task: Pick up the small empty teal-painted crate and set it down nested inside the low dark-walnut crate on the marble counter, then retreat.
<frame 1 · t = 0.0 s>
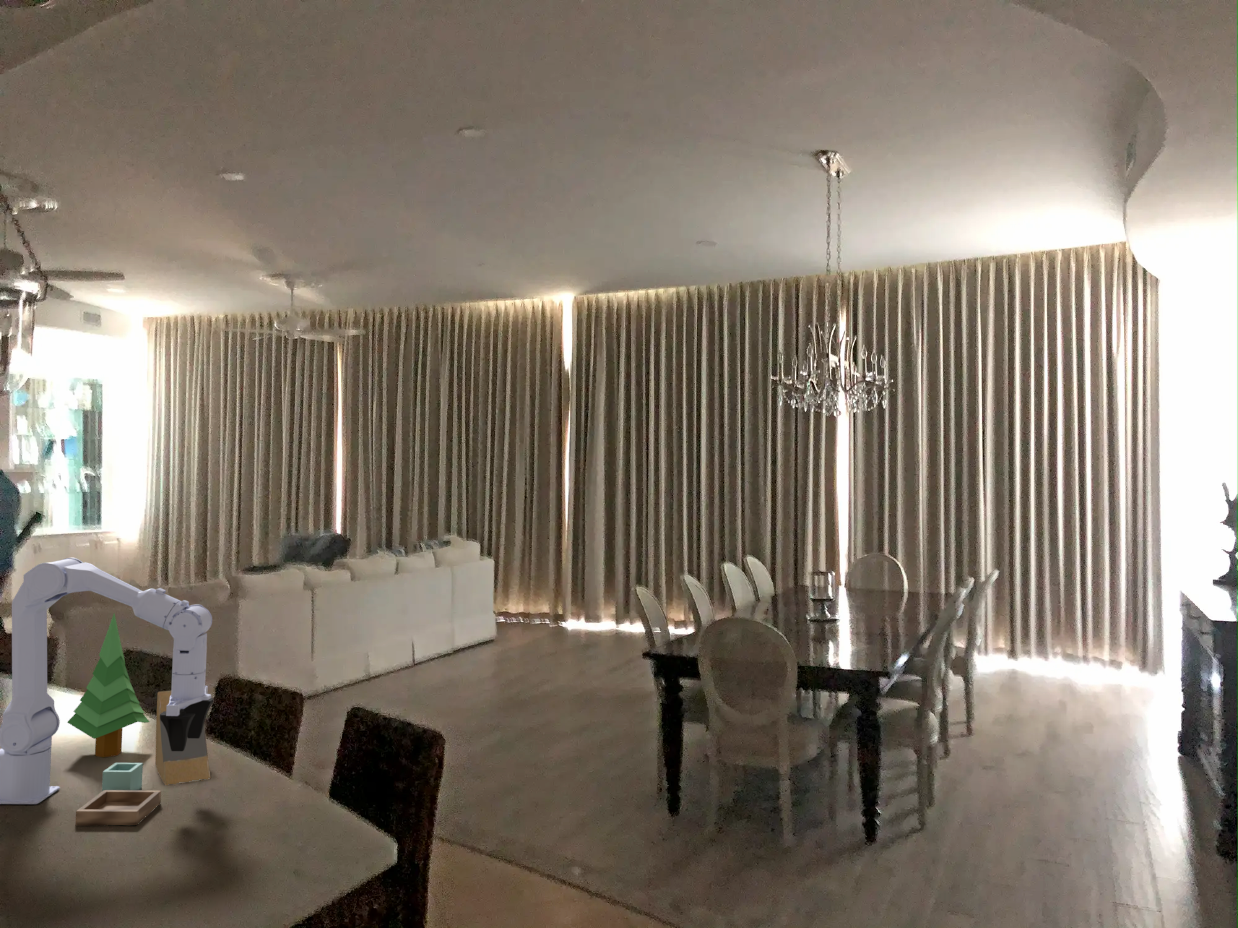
hand: (186, 744, 168), 10 cm above the table, fingers open, 7 cm apart
walnut crate: (119, 814, 159), on the table
sandwich container: (182, 772, 182), on the table
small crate: (122, 793, 169), on the table
decorative tree: (108, 754, 190), on the table
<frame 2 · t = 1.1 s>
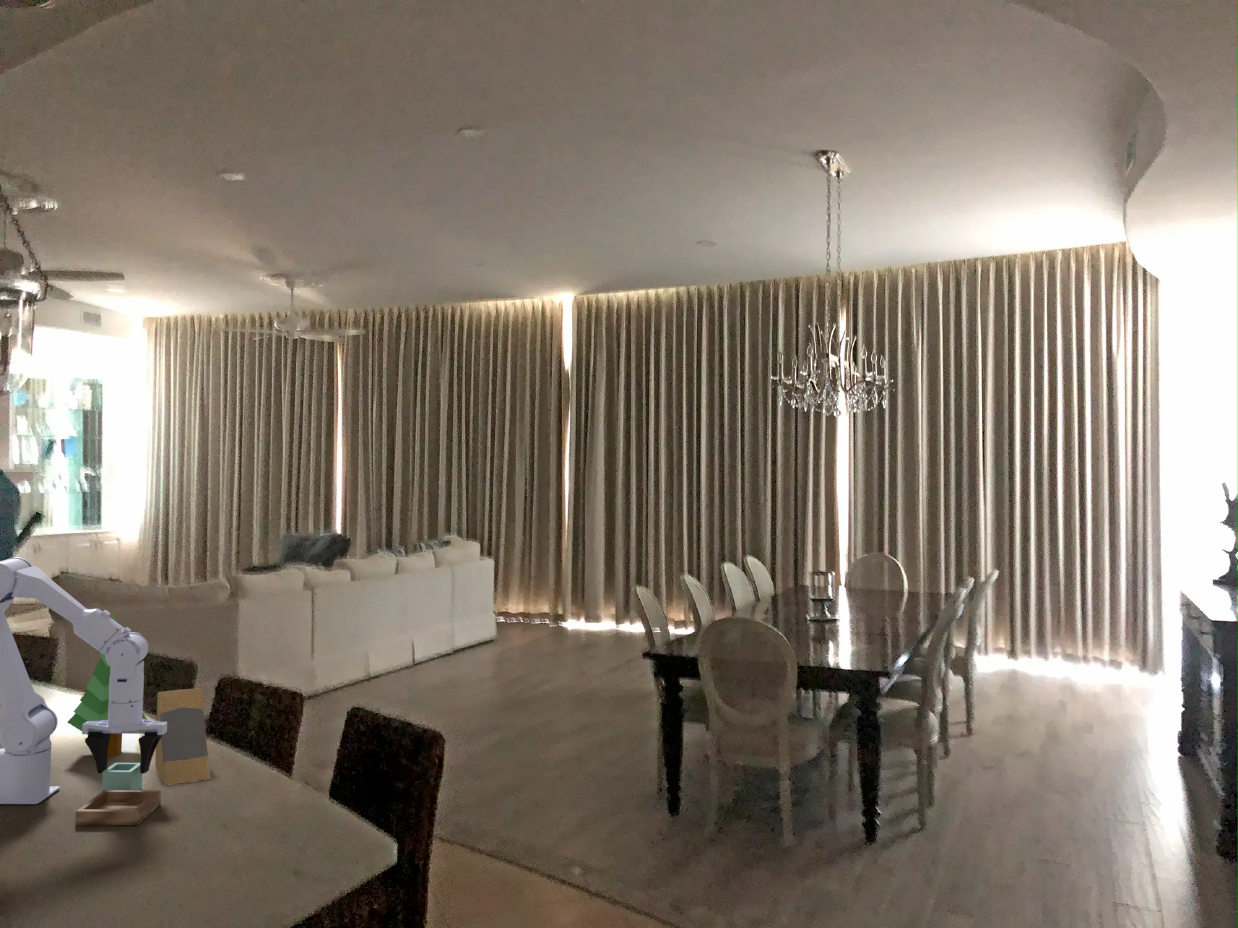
hand: (123, 771, 169), 4 cm above the table, fingers open, 7 cm apart
nothing on the table moved.
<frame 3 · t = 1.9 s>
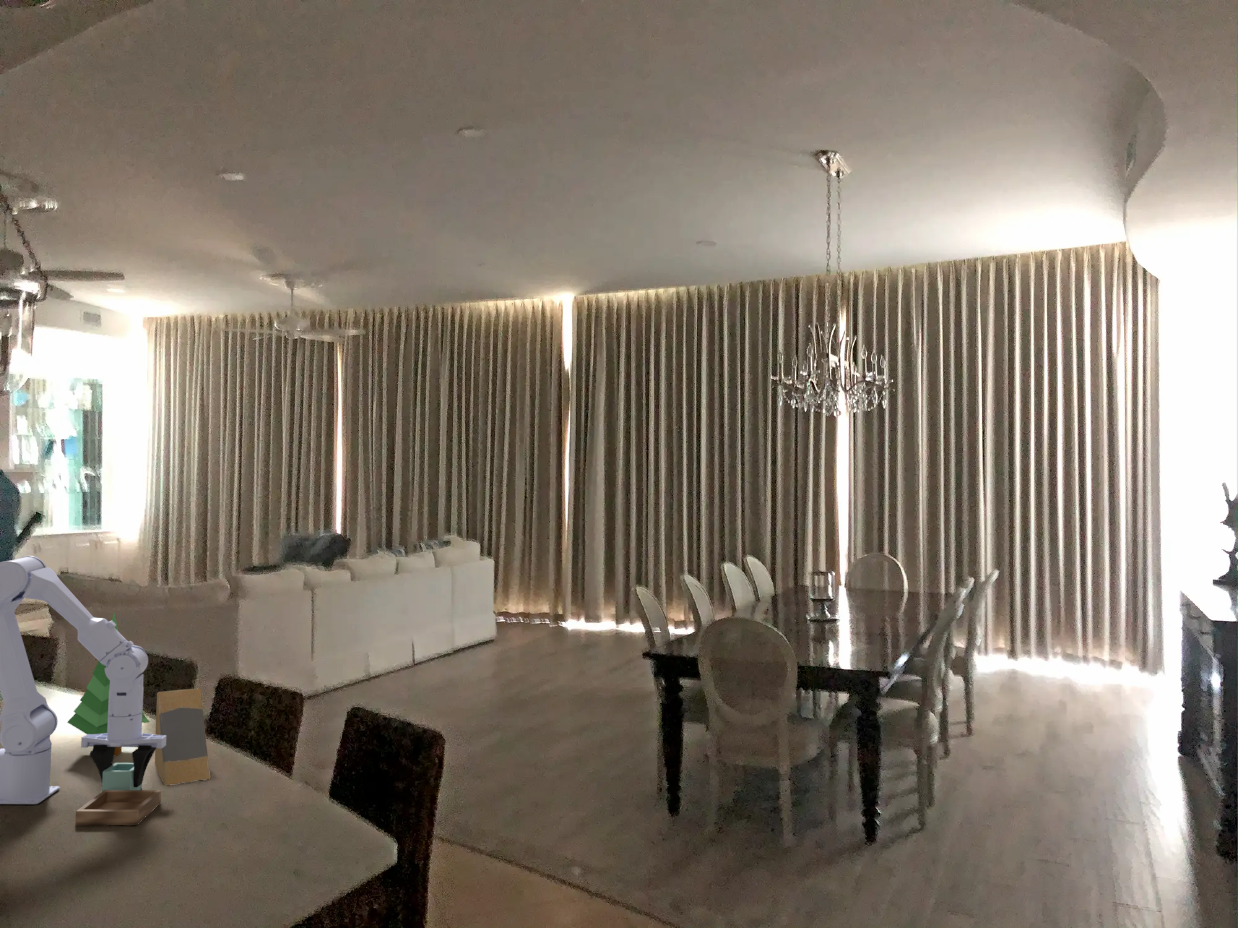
hand: (122, 785, 169), 2 cm above the table, fingers closed on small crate, 5 cm apart
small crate: (122, 793, 169), on the table, touching gripper
everything else where it was.
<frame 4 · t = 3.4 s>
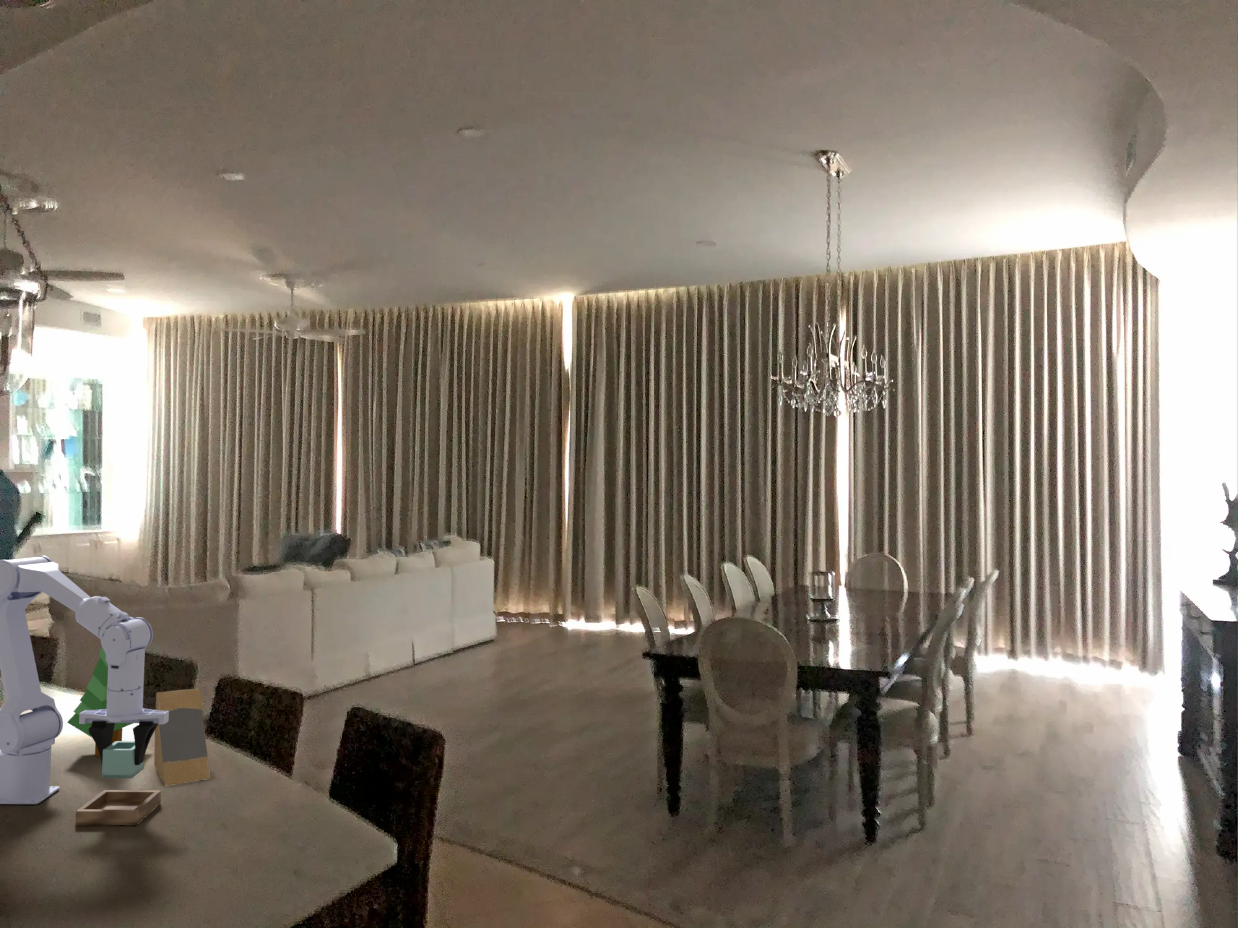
hand: (122, 763, 161), 8 cm above the table, fingers closed on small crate, 5 cm apart
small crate: (123, 773, 161), point 7 cm above the table, touching gripper
everything else where it was.
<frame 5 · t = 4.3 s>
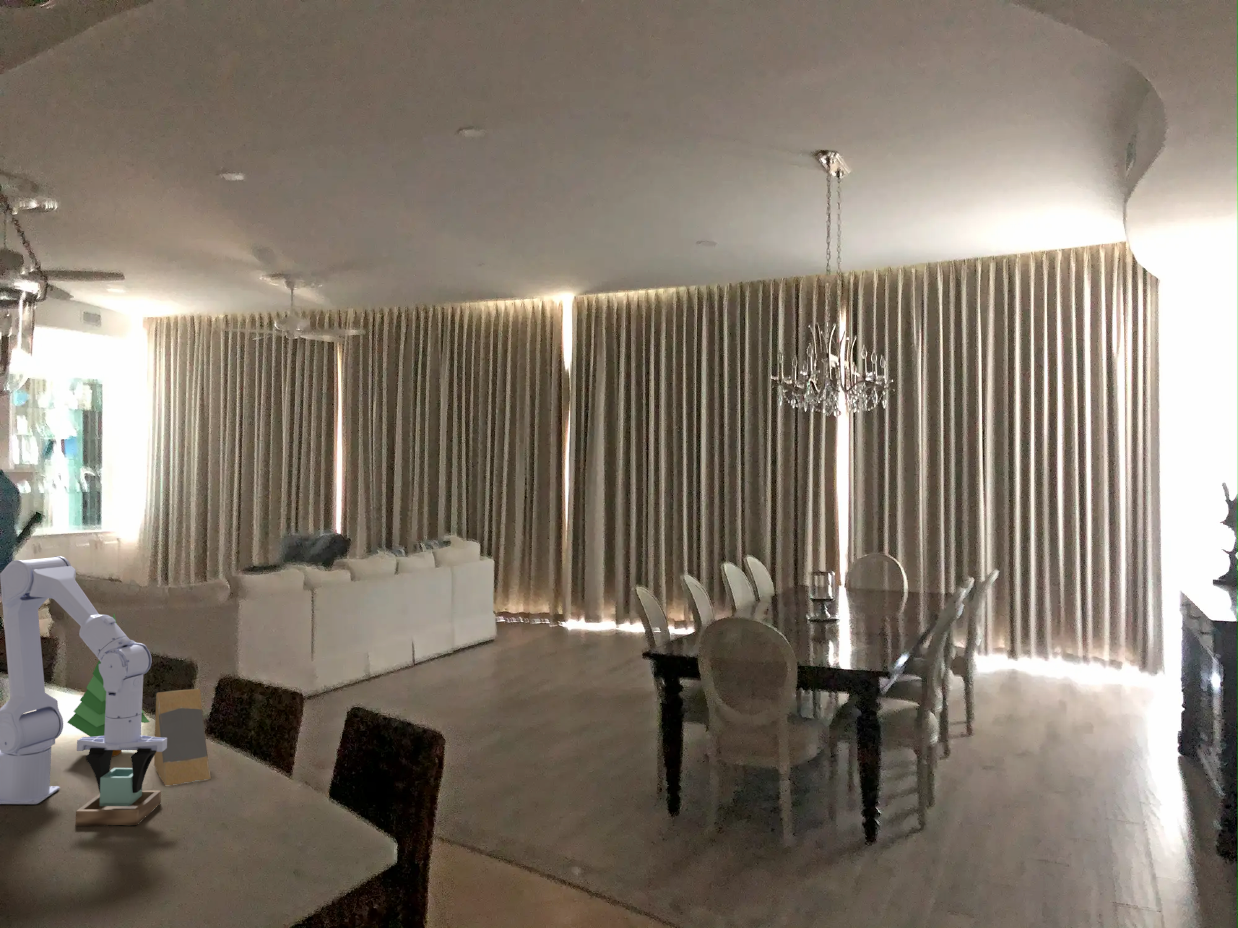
hand: (120, 790, 159), 4 cm above the table, fingers closed on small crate, 5 cm apart
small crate: (121, 800, 159), point 2 cm above the table, touching gripper
everything else where it was.
when the fingers open (3 cm above the table, at t = 5.0 s): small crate stays where it is, resting on walnut crate.
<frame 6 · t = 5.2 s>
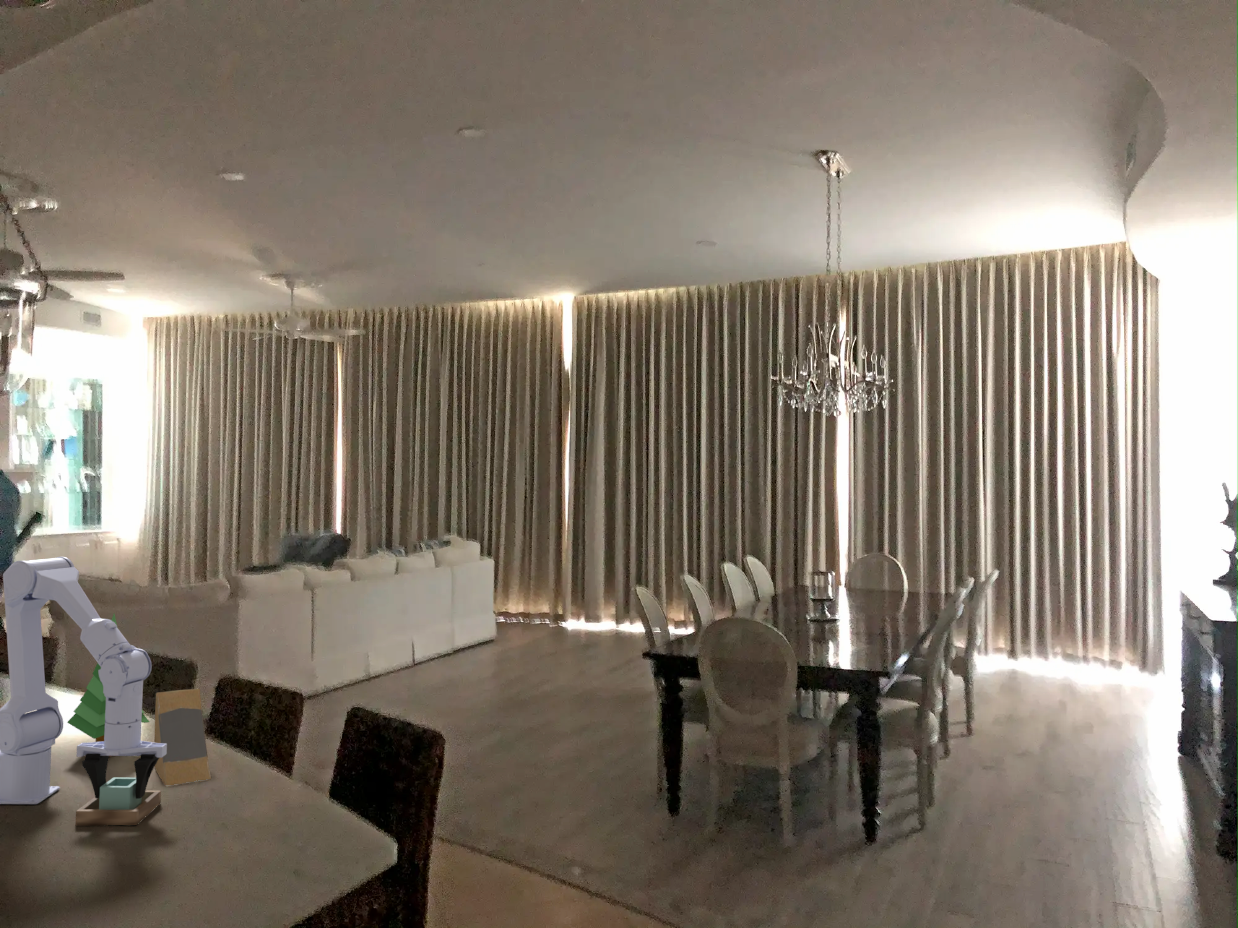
hand: (120, 796, 159), 3 cm above the table, fingers open, 6 cm apart
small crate: (120, 810, 159), point 1 cm above the table, touching walnut crate
everything else where it was.
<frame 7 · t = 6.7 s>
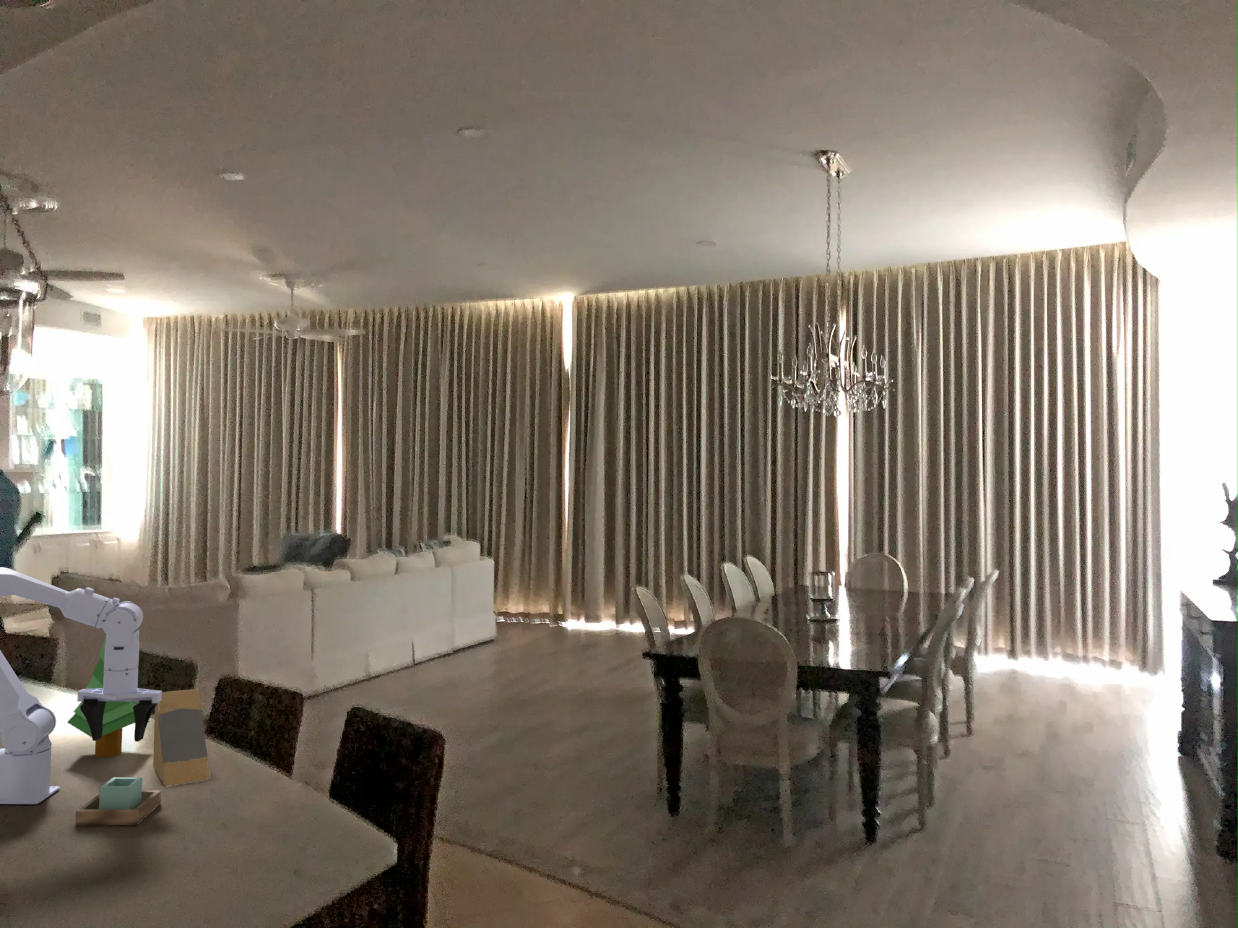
hand: (118, 739, 170), 10 cm above the table, fingers open, 7 cm apart
nothing on the table moved.
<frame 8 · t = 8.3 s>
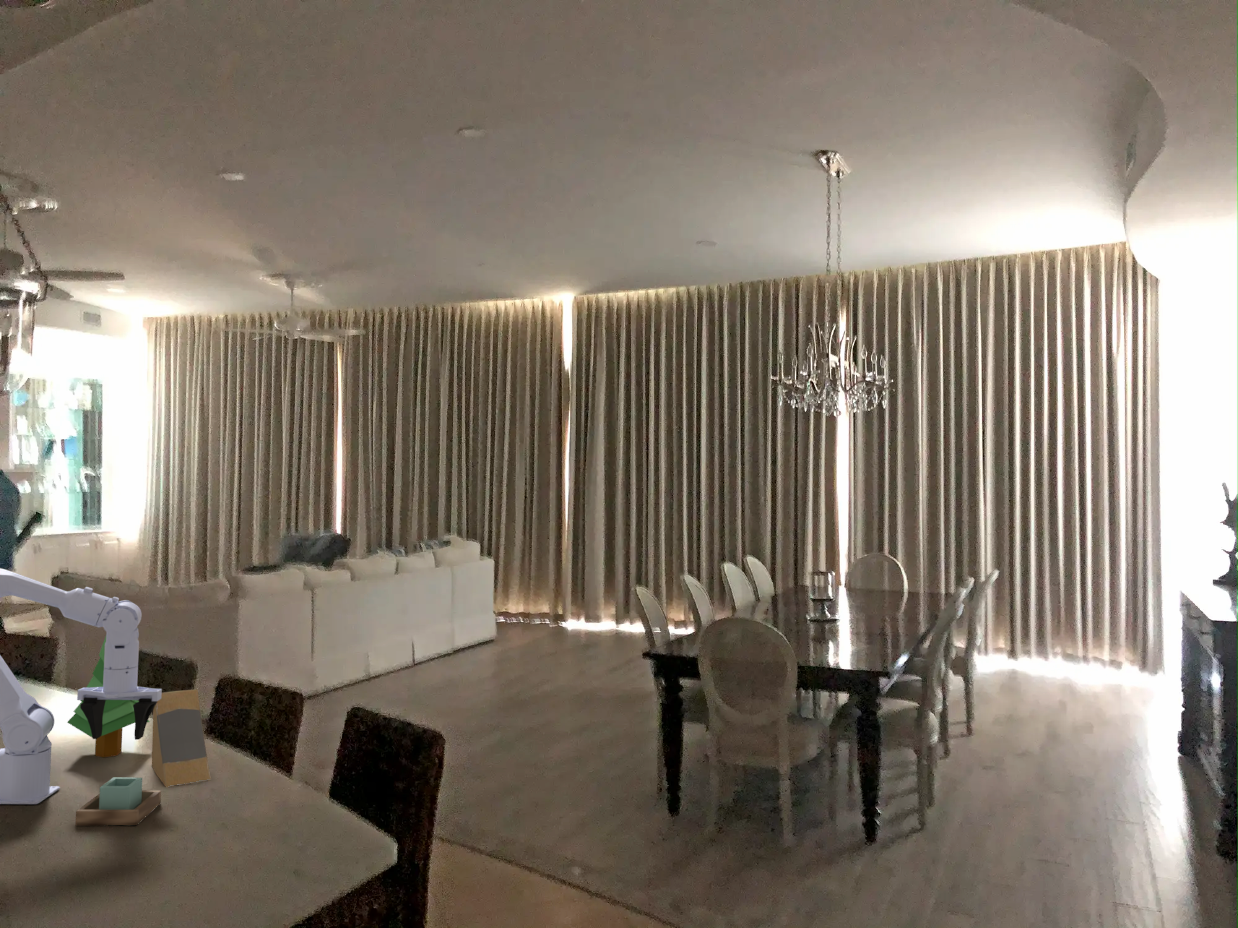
hand: (118, 737, 171), 10 cm above the table, fingers open, 7 cm apart
nothing on the table moved.
at the end: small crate 0.3 cm off-centre on the walnut crate, point 0.6 cm above the walnut crate's base; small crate tilted 0°; the gripper is holding nothing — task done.
